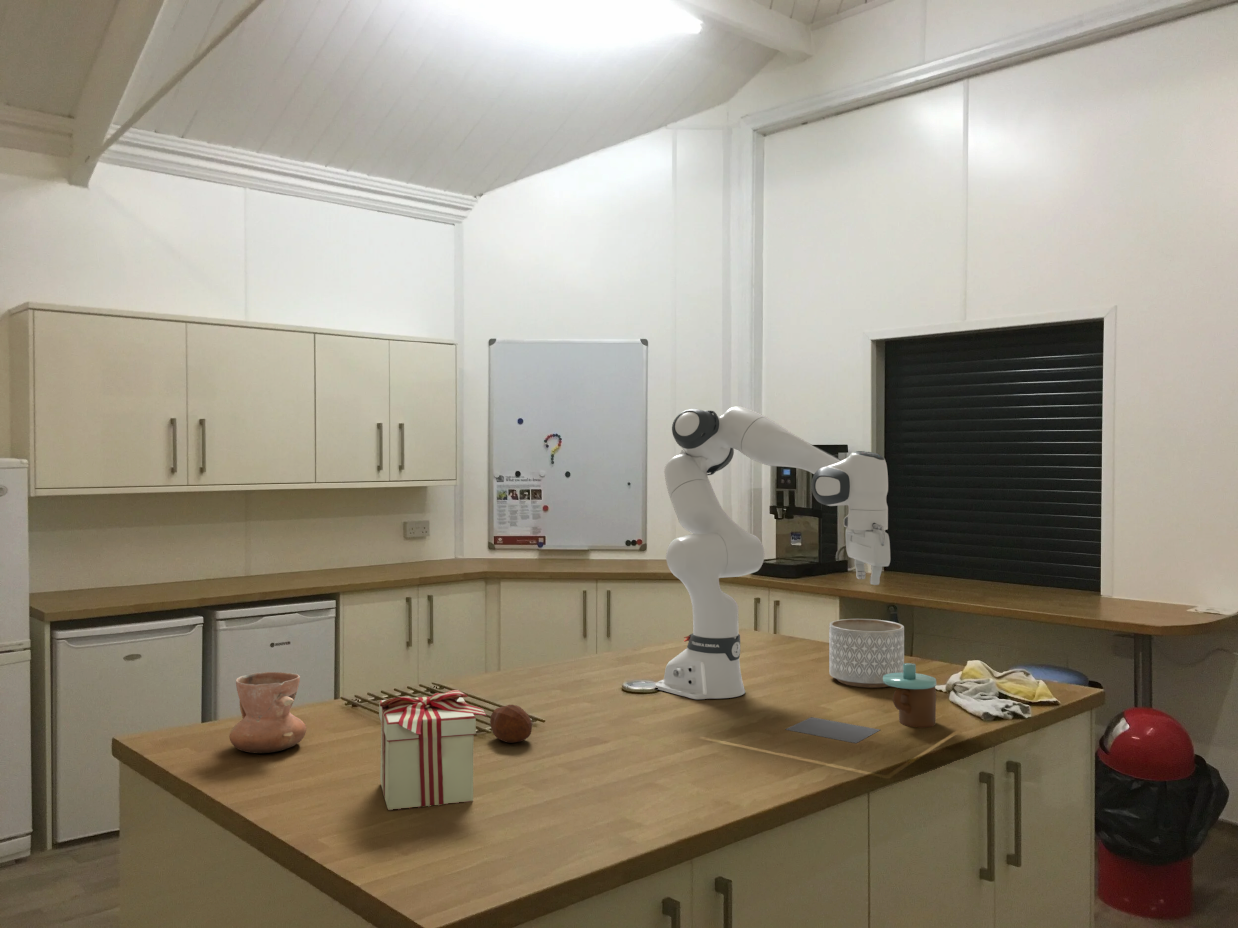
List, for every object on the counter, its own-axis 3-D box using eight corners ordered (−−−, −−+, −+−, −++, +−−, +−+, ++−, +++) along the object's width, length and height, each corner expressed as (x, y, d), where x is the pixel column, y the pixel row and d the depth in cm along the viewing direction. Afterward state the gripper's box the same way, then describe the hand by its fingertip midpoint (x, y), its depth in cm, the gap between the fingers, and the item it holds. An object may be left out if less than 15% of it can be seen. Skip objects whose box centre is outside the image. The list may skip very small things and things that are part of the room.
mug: (910, 736, 206) (910, 690, 206) (879, 728, 212) (879, 684, 211) (942, 725, 213) (942, 682, 213) (912, 718, 219) (912, 675, 219)
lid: (877, 685, 210) (877, 666, 210) (888, 674, 220) (889, 657, 220) (931, 691, 205) (931, 672, 205) (940, 680, 215) (940, 661, 215)
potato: (509, 731, 209) (509, 696, 209) (544, 741, 202) (544, 705, 202) (478, 740, 203) (478, 704, 203) (513, 751, 196) (513, 713, 196)
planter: (912, 678, 258) (913, 622, 258) (891, 692, 242) (891, 634, 242) (843, 669, 268) (843, 616, 268) (818, 683, 252) (818, 626, 252)
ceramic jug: (323, 748, 198) (322, 676, 198) (254, 764, 187) (253, 689, 187) (278, 732, 210) (278, 665, 210) (211, 746, 200) (210, 676, 200)
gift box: (391, 820, 160) (391, 713, 159) (372, 784, 177) (371, 688, 176) (494, 804, 166) (493, 702, 166) (465, 772, 183) (465, 679, 183)
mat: (785, 731, 209) (785, 729, 209) (811, 719, 218) (811, 716, 218) (856, 745, 199) (856, 742, 199) (880, 732, 208) (880, 729, 208)
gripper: (897, 525, 218) (897, 587, 219) (866, 518, 239) (866, 575, 239) (869, 525, 218) (869, 588, 218) (841, 518, 238) (840, 575, 238)
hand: (867, 581), depth 229 cm, fingers open, 8 cm apart
